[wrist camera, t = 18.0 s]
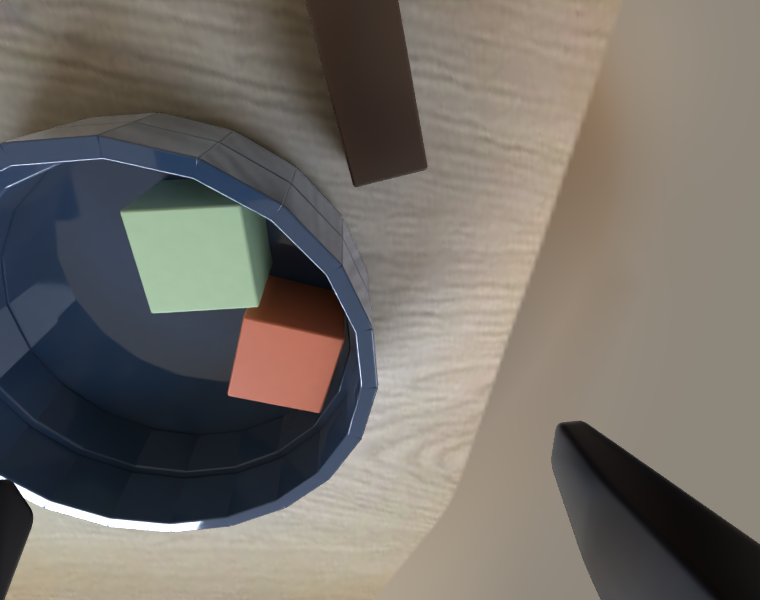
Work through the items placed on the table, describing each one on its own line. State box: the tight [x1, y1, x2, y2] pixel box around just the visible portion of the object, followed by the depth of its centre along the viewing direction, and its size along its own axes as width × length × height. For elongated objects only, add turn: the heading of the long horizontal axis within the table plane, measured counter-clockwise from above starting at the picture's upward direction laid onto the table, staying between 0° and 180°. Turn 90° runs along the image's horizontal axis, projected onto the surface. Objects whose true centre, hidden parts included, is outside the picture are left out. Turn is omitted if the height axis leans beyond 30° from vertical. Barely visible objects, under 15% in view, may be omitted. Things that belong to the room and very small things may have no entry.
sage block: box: [121, 179, 272, 313], centre depth 16 cm, size 4×4×4 cm
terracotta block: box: [227, 275, 345, 413], centre depth 18 cm, size 4×4×4 cm
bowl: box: [0, 112, 378, 532], centre depth 17 cm, size 15×15×5 cm
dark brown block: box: [305, 0, 428, 187], centre depth 14 cm, size 2×9×3 cm, turn 13°
